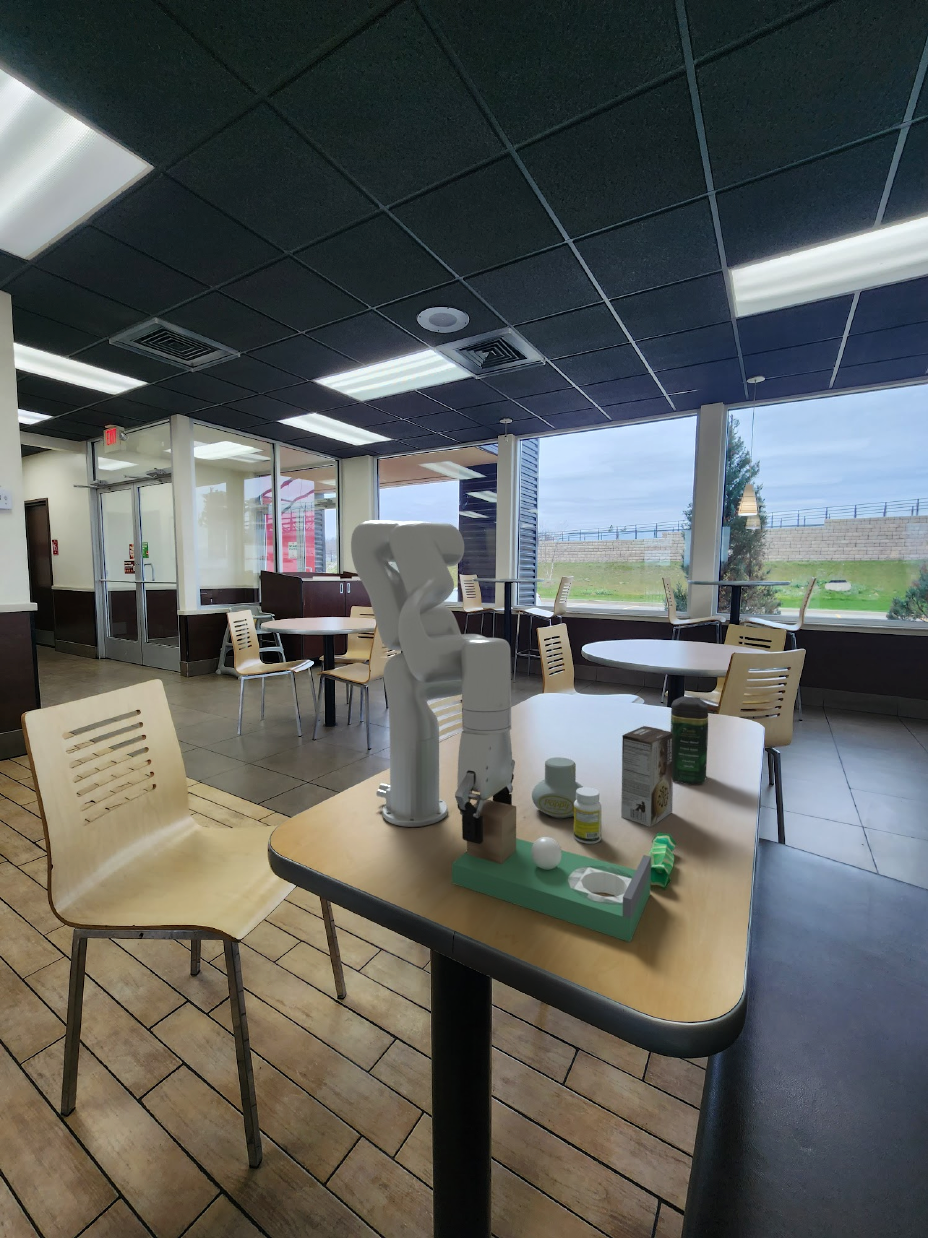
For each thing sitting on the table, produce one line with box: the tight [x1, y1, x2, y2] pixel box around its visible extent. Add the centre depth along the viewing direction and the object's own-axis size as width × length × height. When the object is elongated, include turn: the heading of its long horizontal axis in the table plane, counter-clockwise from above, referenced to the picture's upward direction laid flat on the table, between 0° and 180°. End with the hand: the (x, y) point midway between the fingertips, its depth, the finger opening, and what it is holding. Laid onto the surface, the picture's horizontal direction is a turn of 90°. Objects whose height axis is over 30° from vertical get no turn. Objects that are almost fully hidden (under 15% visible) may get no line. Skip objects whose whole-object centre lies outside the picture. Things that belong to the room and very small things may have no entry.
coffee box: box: [620, 725, 674, 828], centre depth 102 cm, size 9×6×16 cm
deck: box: [451, 837, 651, 943], centre depth 77 cm, size 26×12×6 cm, turn 60°
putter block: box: [466, 799, 517, 864], centre depth 82 cm, size 6×5×7 cm
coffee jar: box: [670, 695, 709, 785], centre depth 121 cm, size 10×8×19 cm
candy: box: [648, 832, 677, 891], centre depth 83 cm, size 12×3×4 cm
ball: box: [531, 836, 562, 870], centre depth 77 cm, size 4×4×4 cm
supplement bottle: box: [573, 786, 602, 845], centre depth 93 cm, size 5×5×8 cm
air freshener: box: [531, 756, 584, 819], centre depth 104 cm, size 11×8×10 cm
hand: (488, 828), depth 82 cm, fingers open, 9 cm apart
